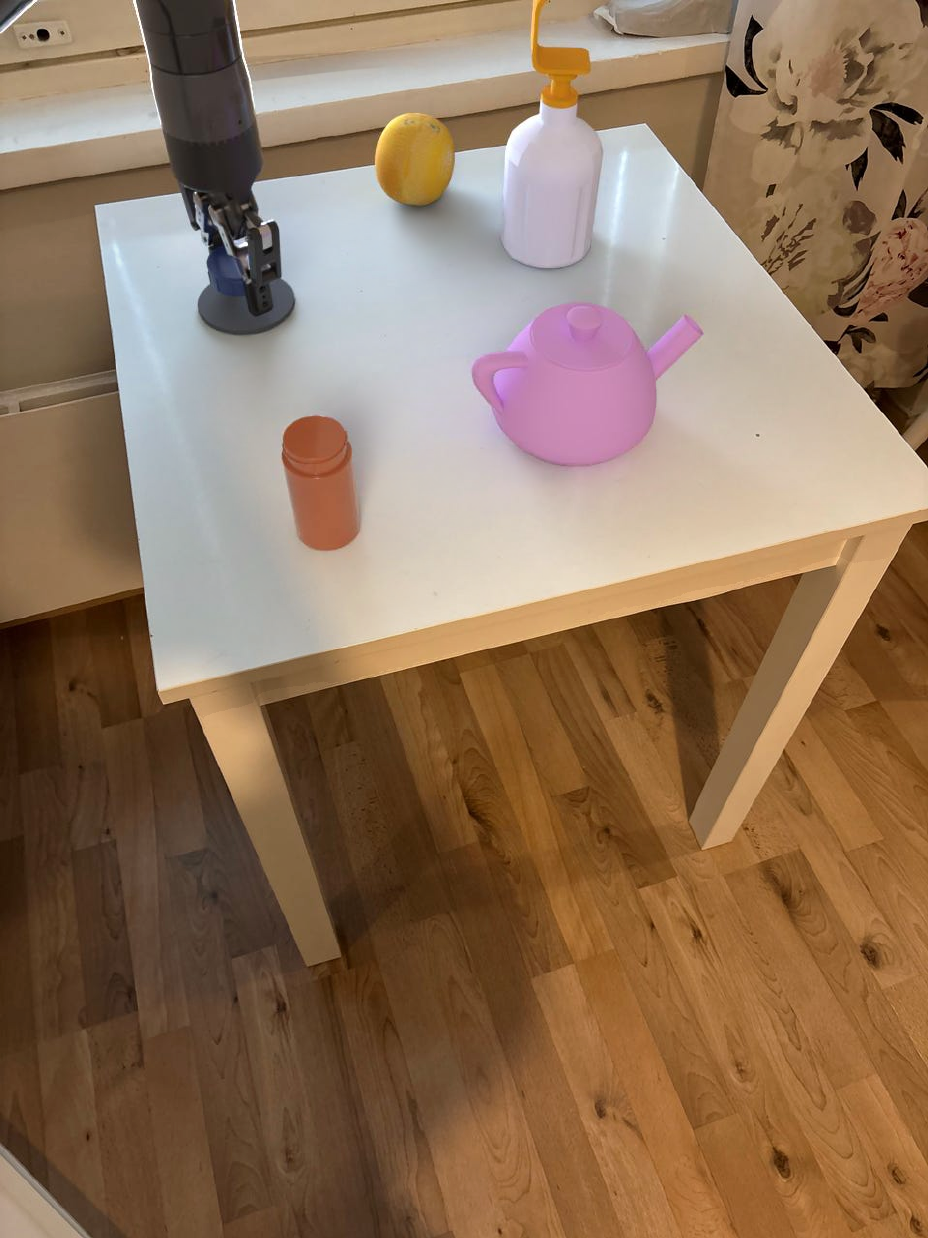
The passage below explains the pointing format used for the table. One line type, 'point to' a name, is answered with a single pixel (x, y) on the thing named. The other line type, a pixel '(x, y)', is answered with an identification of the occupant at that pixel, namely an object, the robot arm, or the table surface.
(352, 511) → the jar
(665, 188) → the table surface
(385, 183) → the fruit
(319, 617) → the table surface
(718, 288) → the table surface
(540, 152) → the soap bottle
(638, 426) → the teapot
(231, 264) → the lid
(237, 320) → the coaster
